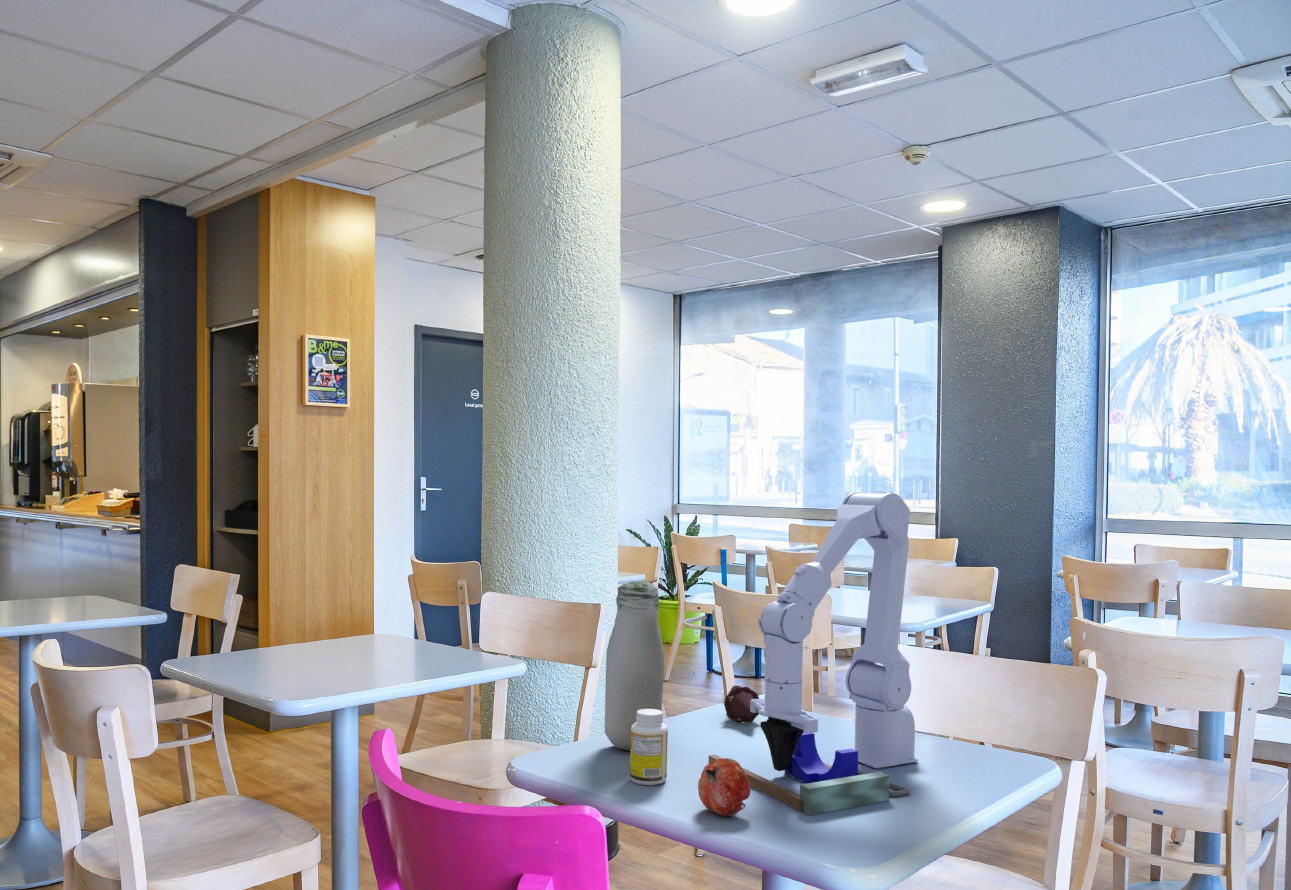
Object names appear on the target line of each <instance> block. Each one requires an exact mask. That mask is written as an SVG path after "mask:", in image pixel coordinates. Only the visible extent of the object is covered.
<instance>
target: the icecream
mask: <svg viewBox="0 0 1291 890" xmlns="http://www.w3.org/2000/svg"><path fill="white" fill-rule="evenodd" d="M752 699H760V696H759V694H758V693H757V692H756V691H754V690H753V689H752V688H750V687H749V686H743V687H742V686H741V685H733V686H732V687H731V689H730V690H729V692H728V693H727V694H726V696H725V698H724V702H723V706H724V710H725V712H726V715H727V718H729V719H730V720H732V721H734V722H736V723H737V724H743V723H742V722H751V723H753V722H754V721H755V719H756V718H757V717H758V716H760V714H759V713H753V712H750V700H752Z"/></svg>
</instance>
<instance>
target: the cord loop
mask: <svg viewBox="0 0 1291 890" xmlns="http://www.w3.org/2000/svg"><path fill="white" fill-rule="evenodd" d="M869 773H870V772H867V771H865V770H862V769H860V768H858V775H863V774H869ZM889 788H891V789H894V790H895V791H892V790H890V789H889V797H892V798H894V797H900V796H905V795H907V796H908V795H909V794H911V790H910V789H909V788H907V787H905V786H902V785H900V784H897V783H894V782H892V781H890V780H889Z"/></svg>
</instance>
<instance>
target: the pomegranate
mask: <svg viewBox="0 0 1291 890" xmlns="http://www.w3.org/2000/svg"><path fill="white" fill-rule="evenodd" d="M722 758H723V757H722ZM697 792H698V796H699V800H700V801H701V802H702V804H703V806H704V807H705V808H706V809H707V810H709V811H711V812H714V813H715V814H718V815H721V816H724V817H732V816H734V815H736V814H737V813H739V812H740V811H741V810H742V808H743V807H744V806H745V807H746V805H747V804H746V803H744V802H743V801H747V800H748V799H749V797H750V794H751V786H750V783H749V779H748V776H747V775H746V773H745V771H744V770H743V766H741V764H740V763H739V762H738V761H736V760H735V759H732V758H728V757H724V758H723V759H717V760H715V762H714V763H712V764H706V765H705V766H704V767H703V770H702V771H701V775H700V778H699V779H698V783H697Z"/></svg>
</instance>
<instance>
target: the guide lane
mask: <svg viewBox="0 0 1291 890" xmlns="http://www.w3.org/2000/svg"><path fill="white" fill-rule="evenodd" d="M717 759H723V757H721V756H719V755H717V754H710V755H708V760H707V761H708V764H712V763H714V762H715V760H717ZM823 763H824V765H825V766H826V767H827V768H828V769H831V767H832V765H830V764H828V763H826V762H823ZM708 764H707V765H708ZM742 768H743V767H742ZM743 770H744V771H745V773H746V775H747V776H748V779H749V783H750V787H751V786H752V787H751V788H753V789H755V788H756V789H755V790H757V789H758V791H759V790H760V792H761V793H763V792H764V793H763V794H765V793H766V794H765V795H767V794H768V795H767V796H769V795H770V797H771V796H772V798H773V797H774V799H775V798H776V800H777V801H779V800H780V802H781V801H782V802H781V803H783V802H784V803H783V804H785V805H787V804H788V805H787V806H789V807H791V806H792V807H791V808H794V809H795V808H796V809H795V810H797V809H798V810H797V811H799V810H800V812H801V813H803V812H804V813H803V814H805V813H806V815H808V816H812V815H817V814H818V813H819V814H824V813H831V812H834V811H838V810H839V811H841V810H847V809H850V808H856V807H861V806H866V805H867V806H868V805H871V804H872V805H873V804H877V803H883V802H887V801H888V802H889V801H890V796H889V790H890V787H889V781H890V775H888V774H886V773H884V772H881V771H875V772H871V773H870V772H868V773H869V774H863V775H860V774H858V775H857V776H851V777H845V778H838V779H832V780H826V781H820V782H814V783H808V784H807V783H803V784H802V783H801V784H799V794H798V793H797V792H794V791H792V790H790V789H788V788H786V787H784V786H782V785H780V784H778V783H775V782H773V781H772V780H769V779H767V778H765V777H763V776H761V775H759V774H757V773H754V772H753V771H750V770H749V769H747V768H743ZM823 812H824V813H823ZM811 814H812V815H811Z"/></svg>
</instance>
